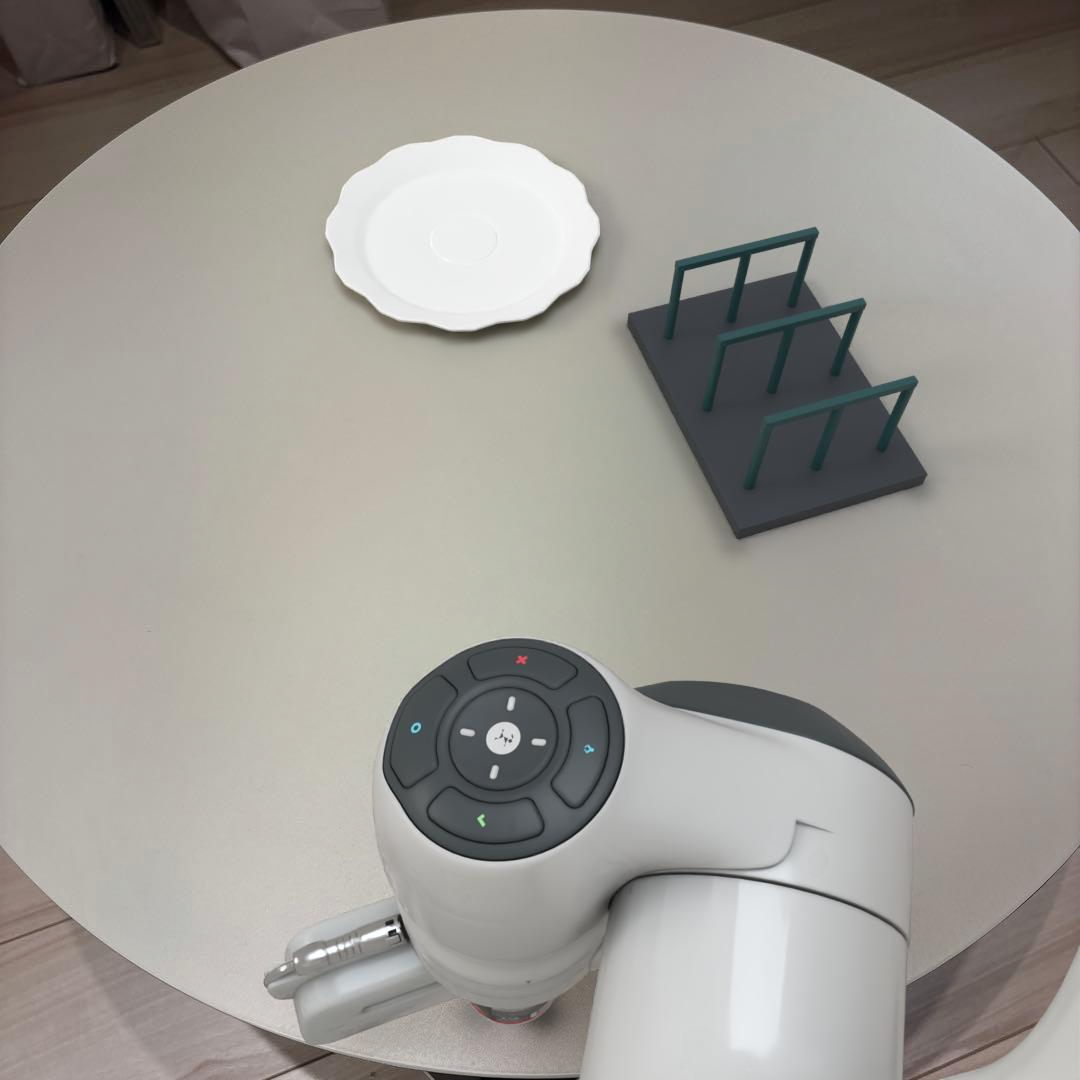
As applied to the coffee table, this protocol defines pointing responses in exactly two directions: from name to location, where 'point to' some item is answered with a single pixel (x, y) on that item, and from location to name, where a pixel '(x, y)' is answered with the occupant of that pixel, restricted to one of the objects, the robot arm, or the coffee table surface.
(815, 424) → the rack
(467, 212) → the plate
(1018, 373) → the coffee table surface
